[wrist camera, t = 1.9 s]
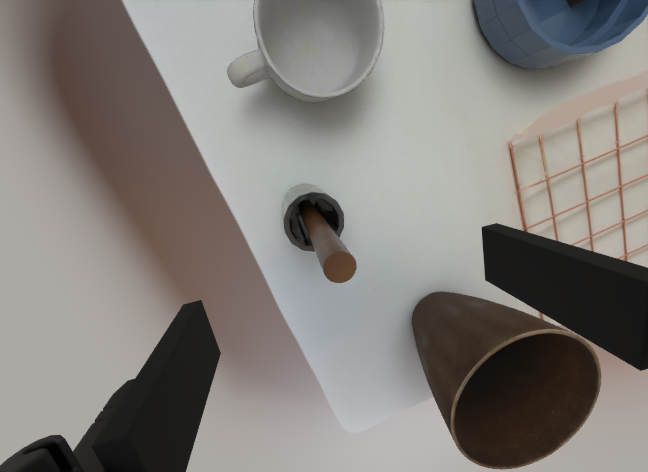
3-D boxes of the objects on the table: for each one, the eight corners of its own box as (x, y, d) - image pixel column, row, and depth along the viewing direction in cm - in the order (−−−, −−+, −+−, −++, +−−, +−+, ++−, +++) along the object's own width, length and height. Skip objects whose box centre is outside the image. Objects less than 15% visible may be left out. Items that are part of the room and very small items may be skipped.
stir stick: (294, 207, 35) (316, 267, 16) (306, 196, 35) (341, 244, 16) (305, 218, 35) (338, 289, 16) (316, 207, 35) (363, 267, 16)
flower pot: (473, 247, 40) (593, 302, 25) (496, 335, 45) (610, 427, 29) (371, 292, 40) (431, 377, 24) (405, 377, 44) (473, 493, 29)
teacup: (346, -18, 30) (369, -76, 23) (371, 95, 34) (398, 76, 26) (212, 18, 30) (189, -31, 22) (250, 130, 33) (242, 122, 25)
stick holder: (272, 206, 35) (270, 222, 26) (306, 173, 35) (316, 179, 26) (304, 238, 36) (312, 263, 28) (337, 207, 36) (356, 222, 28)
